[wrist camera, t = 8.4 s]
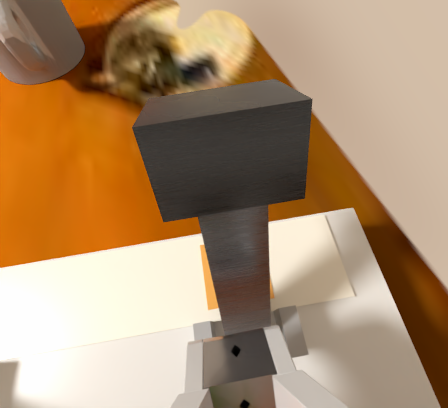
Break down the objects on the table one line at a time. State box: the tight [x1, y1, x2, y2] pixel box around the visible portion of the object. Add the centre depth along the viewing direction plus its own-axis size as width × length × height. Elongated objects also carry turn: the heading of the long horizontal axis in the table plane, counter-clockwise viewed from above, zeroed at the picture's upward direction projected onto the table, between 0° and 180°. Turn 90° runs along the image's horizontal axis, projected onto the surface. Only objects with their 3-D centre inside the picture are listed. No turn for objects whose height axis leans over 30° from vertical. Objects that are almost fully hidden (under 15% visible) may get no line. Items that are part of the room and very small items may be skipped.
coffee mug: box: [0, 0, 85, 84], centre depth 26 cm, size 13×10×10 cm
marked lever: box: [132, 79, 312, 335], centre depth 9 cm, size 3×4×11 cm
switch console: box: [0, 208, 441, 408], centre depth 14 cm, size 12×30×6 cm, turn 99°
